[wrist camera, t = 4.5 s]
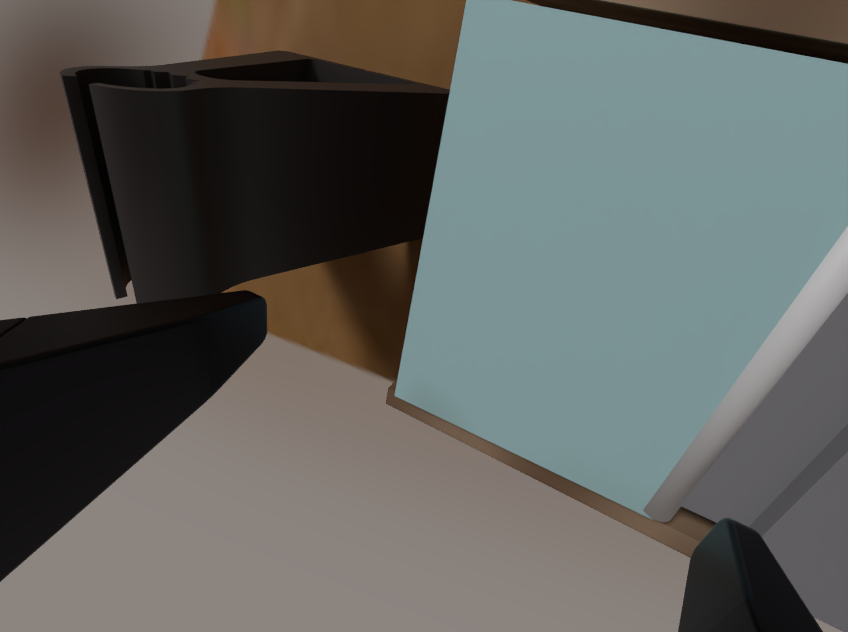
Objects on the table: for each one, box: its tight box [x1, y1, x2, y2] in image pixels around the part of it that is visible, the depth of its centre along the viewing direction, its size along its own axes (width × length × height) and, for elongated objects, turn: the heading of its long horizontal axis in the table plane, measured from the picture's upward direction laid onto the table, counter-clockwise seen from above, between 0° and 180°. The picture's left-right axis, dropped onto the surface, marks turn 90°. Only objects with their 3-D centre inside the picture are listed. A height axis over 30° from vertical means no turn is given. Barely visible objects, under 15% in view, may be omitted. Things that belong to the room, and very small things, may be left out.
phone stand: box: [60, 51, 450, 304], centre depth 17 cm, size 9×6×12 cm, turn 78°
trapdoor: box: [394, 0, 848, 632], centre depth 12 cm, size 14×12×3 cm
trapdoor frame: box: [386, 0, 848, 558], centre depth 15 cm, size 12×14×7 cm
